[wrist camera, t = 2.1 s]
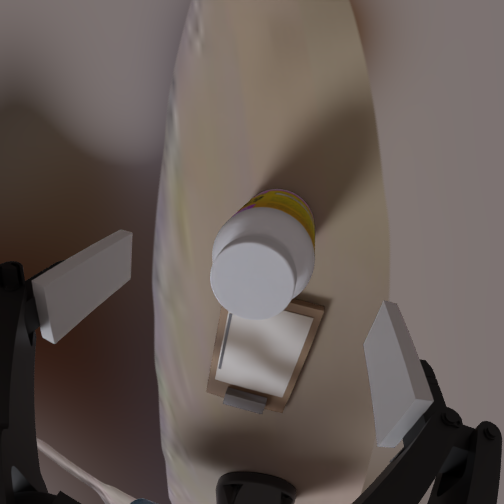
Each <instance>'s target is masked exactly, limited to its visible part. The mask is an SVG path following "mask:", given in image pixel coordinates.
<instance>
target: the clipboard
mask: <svg viewBox="0 0 504 504" xmlns="http://www.w3.org/2000/svg"><path fill="white" fill-rule="evenodd" d="M323 314H324V306H321V305H317V304H313V303H309V302H305V301H301V300H297V299H292V300H291V302H290V303H289V304H288V306H287V307H286V308H285V309H284V310H283V311H282V312H281V313H279V314H278V315H276V316H274V317H271V318H268V319H264V320H249V319H244V318H241V317H238V316H236V315H234V314H232V313H231V312H229V311H228V310H226V309H225V308H224V307H223V306H222V307H221V312H220V318H219V323H218V329H217V334H216V340H215V345H214V351H213V356H212V362H211V368H210V373H209V379H208V385H207V391H206V392H208V393H211V394H214V395H217V396H220V397H224V401H223V404H226V405H230V406H233V407H237V408H240V409H244V410H248V411H251V412H255V413H259V414H262V413H263V410H264V409H267V410H271V411H276V412H280V413H282V412H283V410H284V408H285V406H286V404H287V401H288V399H289V397H290V395H291V392H292V390H293V388H294V386H295V383H296V381H297V379H298V376H299V374H300V372H301V369H302V367H303V364H304V362H305V360H306V357H307V355H308V352H309V350H310V347H311V345H312V342H313V340H314V337H315V335H316V332H317V329H318V327H319V324H320V322H321V319H322V316H323Z"/></svg>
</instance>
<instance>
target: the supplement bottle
mask: <svg viewBox="0 0 504 504" xmlns="http://www.w3.org/2000/svg"><path fill="white" fill-rule="evenodd" d="M212 260H213V265H212V268H211V273H210V282H211V287H212V290H213V293H214V295H215V297H216V298H217V300H218V301H219V303H220V304H221V305H222V306H223V307H224V308H225V309H226V310H228V311H229V312H231V313H232V314H234V315H236V316H238V317H241V318H244V319H249V320H264V319H268V318H271V317H274V316H276V315H278V314H279V313H281V312H282V311H283V310H284V309H285V308H286V307H287V306H288V304H289V303H290V302H291V300H292V299H293V298H295V297H296V296H297V295H298V294H300V293H301V292H302V290H303V289H304V288H305V287H306V285H307V284H308V282H309V280H310V278H311V276H312V273H313V269H314V260H315V224H314V217H313V214H312V212H311V209H310V208H309V206H308V205H307V203H306V202H305V201H304V200H303V199H302V198H301V197H300V196H298V195H297V194H295V193H293V192H290V191H288V190H283V189H271V190H266V191H264V192H261V193H259V194H257V195H256V196H255V197H253V198H252V199H251V200H250V201H249V202H248V203H246V204H245V205H244V206H243V207H242V208H241V209H240V210H239V211H238V212H237V213H236V214H235V215H234V216H232V217H231V218H230V219H229V220H228V221H227V222H226V223H225V224H224V225H223V226H222V228H221V229H220V231H219V232H218V234H217V236H216V239H215V242H214V245H213V252H212Z"/></svg>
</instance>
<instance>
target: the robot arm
mask: <svg viewBox="0 0 504 504" xmlns="http://www.w3.org/2000/svg"><path fill="white" fill-rule="evenodd" d="M131 251H132V233H131V232H128V231H124V230H119V231H117V232H115V233H113V234H111V235H110V236H108V237H106V238H104V239H102V240H100V241H99V242H97V243H95V244H93V245H91V246H89V247H88V248H86V249H84V250H82V251H81V252H79V253H77V254H75V255H74V256H72V257H70V258H69V259H67V260H63V261H59V262H56V263H55V264H53V265H51V266H50V267H49V268H46V269H44V270H43V271H41V272H40V273H38V274H36V275H34V276H33V277H31V278H30V279H28V280H26V281H25V279H24V272H23V266H22V264H21V263H19V262H14V261H10V262H5V263H2V264H0V504H81V503H79V502H77V501H76V500H74V499H72V498H71V497H69V496H68V495H66V494H64V493H63V492H61V491H60V492H59V493H58V495H53V494H50V493H48V491H47V488H46V485H45V483H44V480H43V478H42V475H41V473H40V467H39V459H38V451H37V441H36V429H35V410H34V364H35V363H34V362H35V346H36V334H35V330H36V329H37V328H38V327H39V326H40V328H41V332H42V337H43V338H45V339H47V340H48V341H50V342H52V343H53V344H56V343H57V342H58V341H59V340H60V339H61V338H62V337H63V336H64V335H65V334H67V333H68V332H69V331H70V330H71V329H72V328H73V327H75V326H76V325H77V324H78V323H79V322H80V321H81V320H82V319H84V318H85V317H86V316H87V315H88V314H89V313H91V312H92V311H93V310H94V309H95V308H96V307H97V306H99V305H100V304H101V303H102V302H103V301H104V300H106V299H107V298H108V297H109V296H110V295H112V294H113V293H114V292H115V291H116V290H118V289H119V288H120V287H121V286H122V285H124V284H125V283H126V282H127V281H128V280H130V279H131ZM363 346H364V351H365V357H366V363H367V369H368V376H369V382H370V389H371V396H372V404H373V412H374V420H375V429H376V438H377V446H378V447H392V448H395V447H396V446H397V445H398V443H399V442H400V441H401V440H402V439H403V443H404V448H403V449H402V450H401V451H400V452H399V453H398V454H397V455H396V456H395V457H394V458H393V459H392V460H391V461H390V462H391V463H390V464H389V465H388V466H387V467H386V468H385V470H384V471H383V472H382V473H381V474H380V475H379V476H378V477H377V478H376V480H375V481H374V482H373V483H372V484H371V485H370V486H369V487H368V488H367V489H366V490H365V491H364V492H363V493H362V494H361V495H360V496H359V497H358V498H357V499H356V500H355V501H354V502H353V503H352V504H418V503H419V502H420V500H421V499H422V497H423V496H424V494H425V493H426V491H427V490H428V488H429V486H430V485H431V483H432V482H433V480H434V479H435V477H436V479H435V482H434V485H433V488H432V491H431V495H430V498H429V501H428V503H427V504H496V503H497V496H498V489H499V480H500V468H501V452H502V436H501V432H500V430H499V429H498V427H497V426H496V425H495V424H493V423H491V422H488V421H484V422H481V423H480V424H479V425H478V426H477V428H476V429H474V428H471V427H468V426H465V425H463V423H462V419H461V417H460V416H459V414H458V413H457V412H456V411H454V410H453V409H451V408H449V407H446V404H445V401H444V399H443V396H442V393H441V391H440V387H439V386H438V382H437V379H435V374H434V372H433V369H432V368H431V366H430V365H429V364H428V363H427V362H426V360H420V359H419V357H418V354H417V352H416V349H415V347H414V344H413V341H412V339H411V336H410V334H409V331H408V329H407V326H406V324H405V322H404V319H403V317H402V315H401V312H400V310H399V307H398V305H397V304H396V303H392V302H388V301H384V300H383V303H382V305H381V307H380V309H379V312H378V314H377V316H376V318H375V321H374V323H373V325H372V327H371V329H370V331H369V333H368V335H367V337H366V340H365V342H364V344H363ZM295 498H296V489H295V488H294V486H292V485H291V484H290V483H288V482H286V481H284V480H282V479H279V478H276V477H273V476H269V475H265V474H259V473H250V472H235V473H229V474H225V475H223V476H221V477H220V478H219V480H218V483H217V486H216V501H217V504H294V502H295ZM130 504H157V503H154V502H152V501H149V500H147V499H137V500H135V501H133V502H131V503H130Z"/></svg>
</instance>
